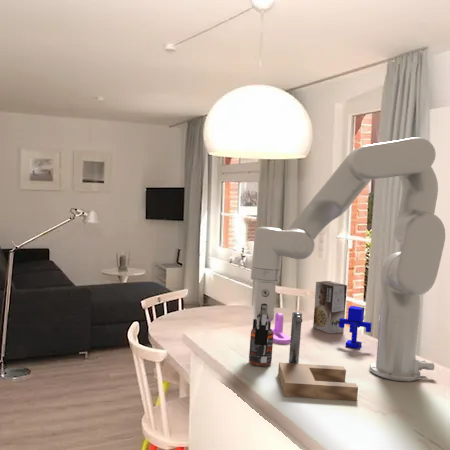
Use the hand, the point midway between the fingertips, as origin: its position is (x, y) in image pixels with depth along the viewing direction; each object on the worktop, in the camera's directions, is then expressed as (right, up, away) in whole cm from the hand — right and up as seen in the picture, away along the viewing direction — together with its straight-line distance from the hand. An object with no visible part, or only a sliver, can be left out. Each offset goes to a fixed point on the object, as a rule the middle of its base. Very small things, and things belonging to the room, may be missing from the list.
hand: (259, 339), depth 134 cm
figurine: (+30, -7, +22) cm, 38 cm away
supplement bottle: (0, -7, 0) cm, 7 cm away
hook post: (+8, -7, -6) cm, 12 cm away
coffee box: (+26, -6, +41) cm, 49 cm away
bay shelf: (+12, -8, -14) cm, 20 cm away
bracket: (+7, -6, +26) cm, 28 cm away
